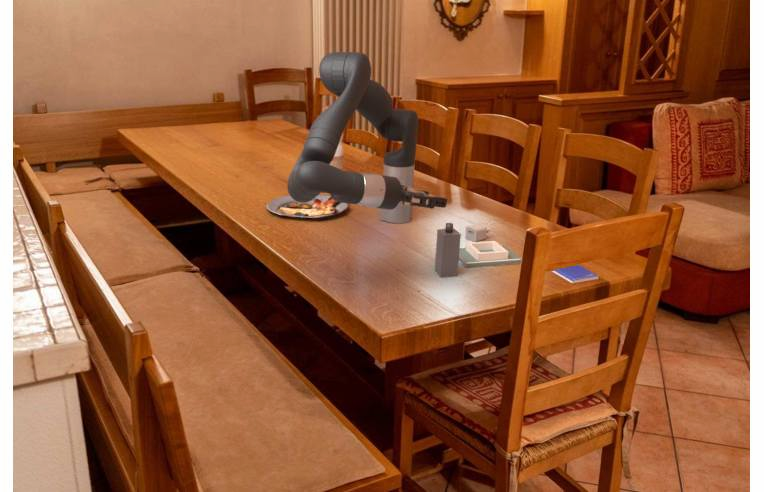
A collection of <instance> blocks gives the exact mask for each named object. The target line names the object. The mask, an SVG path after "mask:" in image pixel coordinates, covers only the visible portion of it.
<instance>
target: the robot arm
mask: <svg viewBox="0 0 764 492" xmlns="http://www.w3.org/2000/svg"><path fill="white" fill-rule="evenodd" d="M371 66H372V65H371V60H370V59H369V57H368V56H367V55H366V54H365V53H364V52H363V53H362V52H358V51H357V52H356V51H336V52H335V51H334V52H329V53H327V54H325V55H324V56H323V57H322V59H321V61H320V62H319V67H318V68H319V69H318V71H319V72H318V73H319V77H320V78H319V79H320V81H321V83H322V85H323V86H324V88H325V89H326V90H327V91H328V92H329V93H331V94H333V95H335V96H337V98H336V99H335V101H334V102H333V103H332V104H331V105H328V106H329V107H328V108H327V109H326V110H325V111H323V110H322V112H321V113H320V114H319V115H318V116H317V117H316V119H315V120H314V121H313V122H312V125H311V126H310V128H309V131H308V134H307V137H306V139H305V143H304V144H303V145H304V146H303V149H302V150H301V153H300V155H299V156H298V158H297V160H296V162H295V164H294V166H293V168H292V169H291V172H290V174H289V176H288V179H287V185H286V189H287V191H288V194H289V195H288V196H291V197H292V199H294V200H295V201H297V202H300V203H305V204H307V203H306V202H309V201H311V200H313V199H314V198H315V197H316V196H318V195H321V194H324V193H325V194H329V196H331V197H332V199H333V200H335V201H337V202H341V203H348V204H350V205H357V206H361V207H365V208H372V209H373V208H374V209H380V221H383V222H388V223H391V224H404V223H409V222H411V221H412V219H413V218H412V217H413V207H418V208H421V207H422V208H427V209H431V210H433V209H434V208H442V209H445V208H446V207H447V204H448V198H446V197H441V196H434V195H431V194H430V192H429V191H427V190H421V189H416V188H414V184H415V183H414V182H415V179H414V177H415V159H416V154H417V141H418V132H419V115H418V113H417V111H416V110H415V111H414V110H410V109H401V108H394V107H393V106H394V101H393V97H392V95H391V94H390V93H389V92H388V90H387V89H386V88H385V87H384V86H383V85H382V84H381V83H379V82H378V81H376V80H373V79H371V77H372V67H371ZM355 111H356V112H357V113H358V114H360V116H362V117H363V118H364V119H366V120H367V121H368V122H369V123H370V124H371V125H373V127H374V128H375V130H376V131H377V133H378V134H379V135H380V136H381V137H382V138H383V139H385V140H388V141H393V142H394V141H395V142H402V144H401V147H400V148H398V149H394V150H391V151H388V152H385V153H384V154H383V155H384V156H383V166H382V167H383V169H382V170H383V171H382V174H377V173H371V172H368V173H367V172H363V173H362V172H356V171H348V170H344V169H343V170H341V169H339V168H337V167H334V166H332V165H329V164H330V163H331V161H332V160H333V158H334V156H335V153H336V150H337V147H338V145H339V142H340V139H341V136H342V134H343V135H344V132H345V129H346V126H347V125H348V123H349V121H350V120H351V118H352V117H353V114H354V113H355Z"/></svg>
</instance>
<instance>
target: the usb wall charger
mask: <svg viewBox="0 0 764 492" xmlns="http://www.w3.org/2000/svg"><path fill="white" fill-rule="evenodd" d="M488 233H491V229H488V228H487V226H485V225H483V224H480V223H475V224H471V225H467V226H466V227H465V233H464V234H465V235H464V238H465V240H466V239H467V240H466V241H469V240H470V241H469V242H471V241H472V242H482V241H484V239H485V240H486V238H487V234H488Z"/></svg>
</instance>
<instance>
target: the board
mask: <svg viewBox="0 0 764 492" xmlns="http://www.w3.org/2000/svg"><path fill="white" fill-rule="evenodd" d="M521 259H523V258H521V257H520V256H519V255H518V254H517V253H515V252H514V251H513V250H512V249H510V248H509V246H507V245H505V244H504V245H501V244H499V243H498V242H497V241H495V240H492V241H491V240H490V241H489V240H488V241H478V242H471V241H470V242H466V243H465V247H460V250H459V261H460V262H461V263H460V262H459V263H460V264H461V265H462V266H463V267H464V268H465V269H467V268H468V269H469V268H478V267H479V268H480V267H481V268H482V266H483V267H493V265H496V266H503V265H502V264H510V265H516V264H515V263H518V264H517V265H520V264H521ZM519 263H520V264H519ZM521 265H522V264H521Z"/></svg>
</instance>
